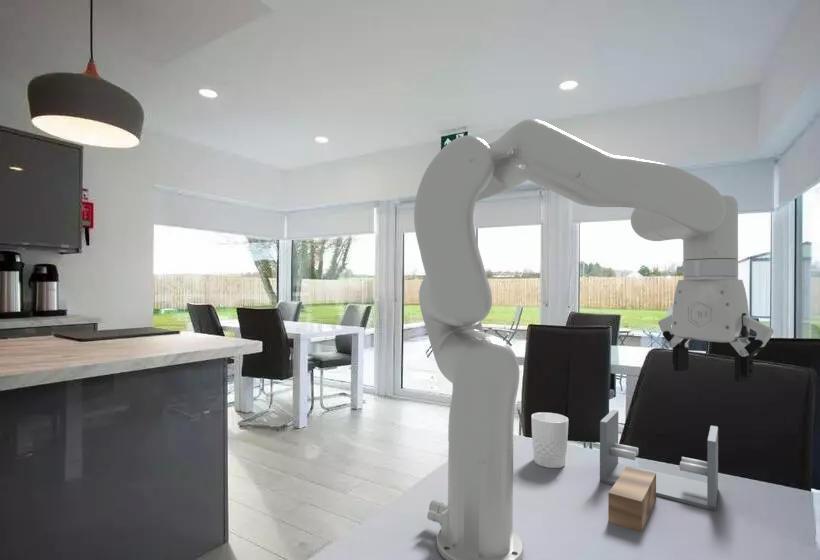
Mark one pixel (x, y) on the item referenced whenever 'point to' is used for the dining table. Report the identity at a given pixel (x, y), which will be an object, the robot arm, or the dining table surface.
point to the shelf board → (632, 498)
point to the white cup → (549, 439)
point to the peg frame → (665, 483)
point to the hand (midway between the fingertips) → (710, 375)
